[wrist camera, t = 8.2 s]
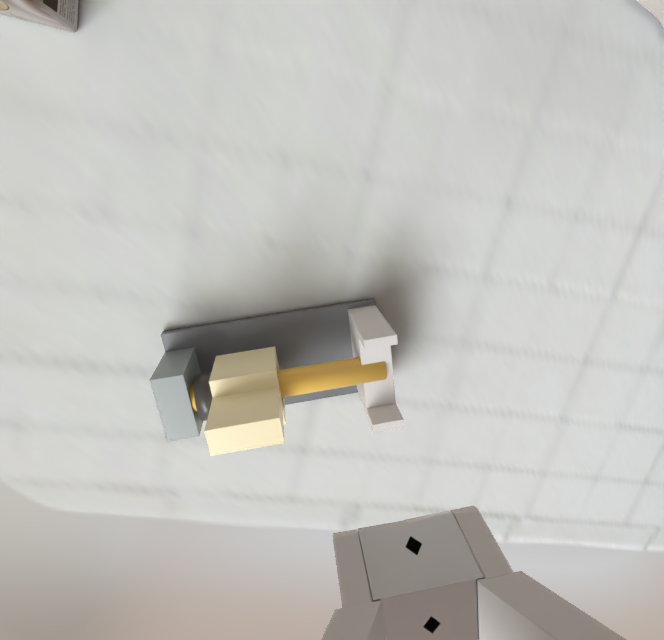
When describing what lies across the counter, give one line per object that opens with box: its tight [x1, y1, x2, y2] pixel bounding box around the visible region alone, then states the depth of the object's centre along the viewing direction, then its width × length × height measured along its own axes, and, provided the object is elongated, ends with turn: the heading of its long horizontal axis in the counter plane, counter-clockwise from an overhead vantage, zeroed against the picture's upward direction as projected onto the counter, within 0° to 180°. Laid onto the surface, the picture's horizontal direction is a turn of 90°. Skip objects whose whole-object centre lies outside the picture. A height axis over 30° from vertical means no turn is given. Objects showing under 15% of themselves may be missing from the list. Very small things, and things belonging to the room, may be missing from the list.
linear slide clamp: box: [150, 299, 404, 442], centre depth 30 cm, size 15×7×7 cm, turn 97°
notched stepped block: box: [204, 346, 286, 456], centre depth 28 cm, size 4×4×7 cm
